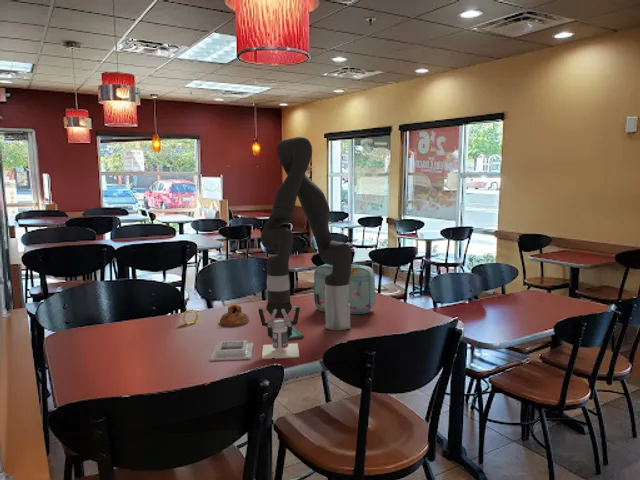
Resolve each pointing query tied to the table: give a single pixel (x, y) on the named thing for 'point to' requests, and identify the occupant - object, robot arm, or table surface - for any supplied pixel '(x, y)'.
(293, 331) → the smartphone
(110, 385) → the table surface
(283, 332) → the pill bottle
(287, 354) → the mat
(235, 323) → the bell
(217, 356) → the square frame
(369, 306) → the lunch box
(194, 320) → the yellow ring
